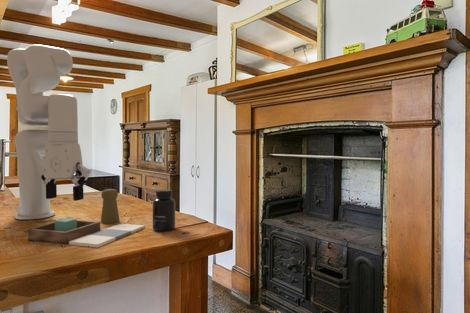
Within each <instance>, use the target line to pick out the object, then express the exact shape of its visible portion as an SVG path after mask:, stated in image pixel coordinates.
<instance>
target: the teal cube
mask: <svg viewBox="0 0 470 313" xmlns="http://www.w3.org/2000/svg"><path fill="white" fill-rule="evenodd" d="M77 220H78V219H77V218H72V217H71V218H69V217H65V218H60V219H57V220H54V222H55V231H63V232H67V231H70V230H73V229H76V228H77Z"/></svg>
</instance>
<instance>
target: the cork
mask: <svg viewBox="0 0 470 313" xmlns="http://www.w3.org/2000/svg"><path fill="white" fill-rule="evenodd" d="M118 196H119V192H118V190H117V189H114V188H105V189H104V190H102V191H101V198H102V208H101V217H100V224H105V225H107V224H109V225H111V224H115V223H119V222H120V214H119V207H118V202H117V198H118Z"/></svg>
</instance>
